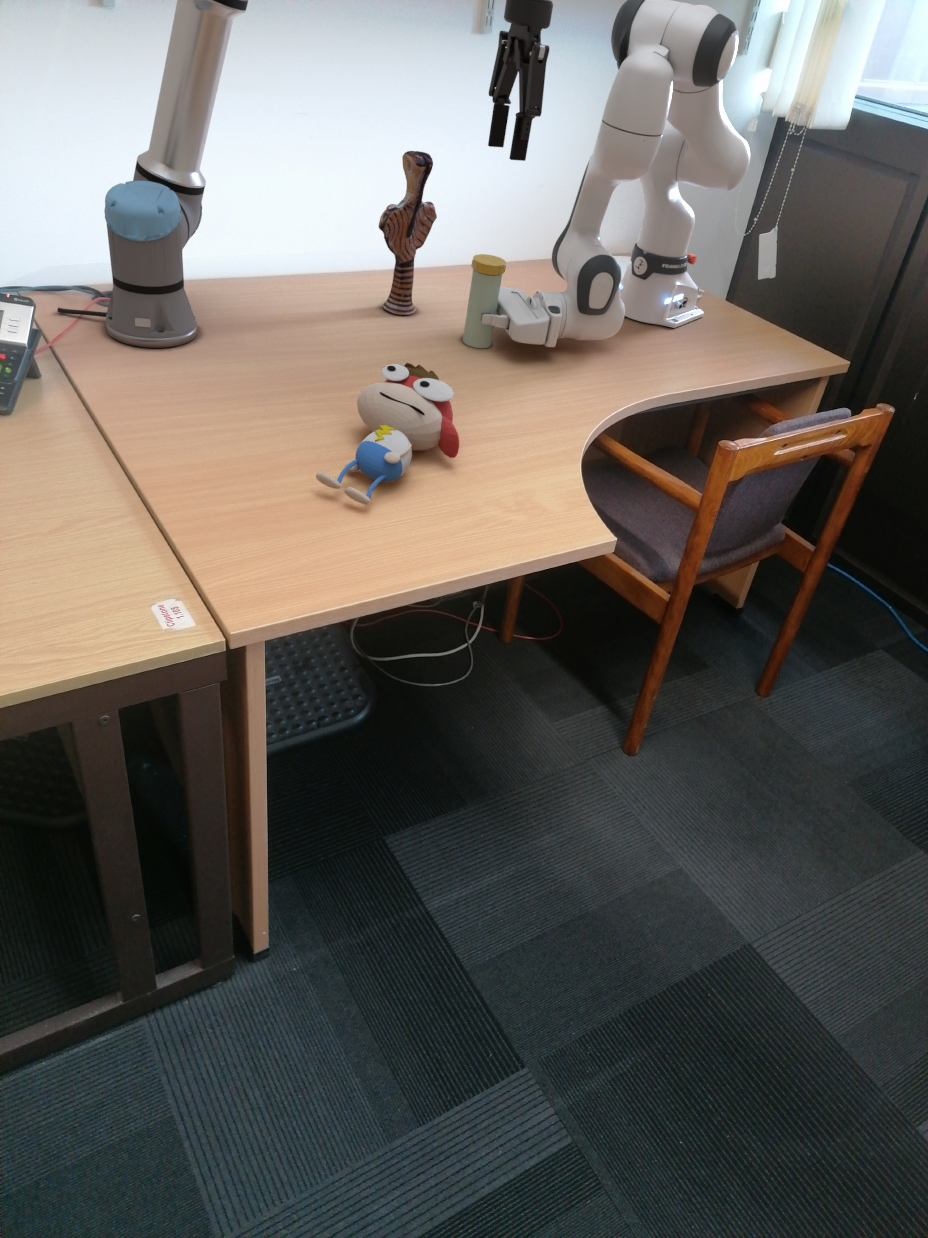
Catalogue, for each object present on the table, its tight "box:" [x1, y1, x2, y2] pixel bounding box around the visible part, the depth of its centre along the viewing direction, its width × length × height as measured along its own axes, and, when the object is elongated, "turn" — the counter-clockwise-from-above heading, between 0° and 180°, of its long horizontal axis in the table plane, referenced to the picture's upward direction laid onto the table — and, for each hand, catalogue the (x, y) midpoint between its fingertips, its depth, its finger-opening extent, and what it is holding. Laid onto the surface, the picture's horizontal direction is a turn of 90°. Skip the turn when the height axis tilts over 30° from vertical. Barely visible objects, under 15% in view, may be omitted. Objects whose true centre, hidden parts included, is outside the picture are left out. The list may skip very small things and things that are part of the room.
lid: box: [470, 253, 507, 275], centre depth 166 cm, size 6×6×2 cm
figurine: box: [378, 150, 438, 316], centre depth 174 cm, size 15×8×30 cm, turn 144°
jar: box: [462, 268, 503, 349], centre depth 171 cm, size 6×6×16 cm
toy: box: [315, 362, 460, 505], centre depth 132 cm, size 18×10×30 cm
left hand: (506, 152), depth 154 cm, fingers open, 8 cm apart
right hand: (477, 311), depth 172 cm, fingers closed on jar, 5 cm apart
